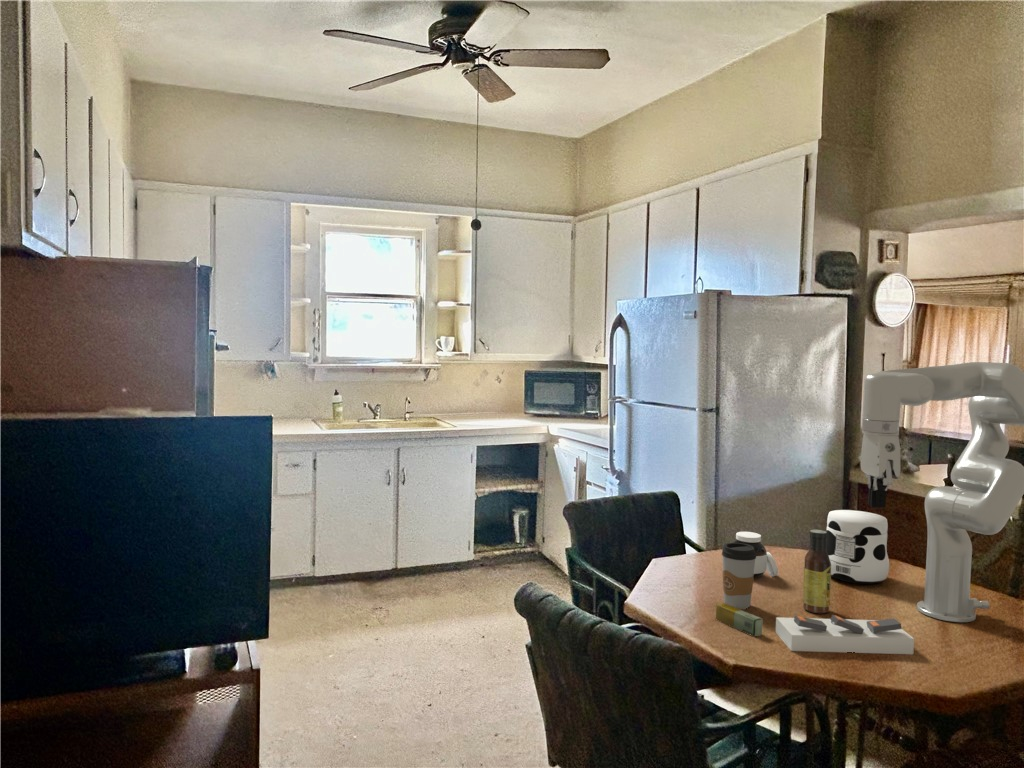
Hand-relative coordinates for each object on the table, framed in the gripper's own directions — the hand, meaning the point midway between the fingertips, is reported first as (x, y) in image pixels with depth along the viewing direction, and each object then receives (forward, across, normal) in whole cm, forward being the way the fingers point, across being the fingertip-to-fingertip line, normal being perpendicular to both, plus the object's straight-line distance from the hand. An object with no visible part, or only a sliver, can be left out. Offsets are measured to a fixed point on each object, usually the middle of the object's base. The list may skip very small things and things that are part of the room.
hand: (876, 506), depth 167 cm
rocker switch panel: (+29, -8, +10) cm, 32 cm away
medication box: (+30, 0, +31) cm, 43 cm away
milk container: (+29, +38, -13) cm, 50 cm away
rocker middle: (+24, -10, +10) cm, 28 cm away
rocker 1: (+24, -10, +18) cm, 32 cm away
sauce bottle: (+29, +12, +8) cm, 33 cm away
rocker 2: (+24, -10, +2) cm, 26 cm away
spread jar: (+29, +39, +15) cm, 51 cm away
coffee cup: (+29, +14, +27) cm, 42 cm away
